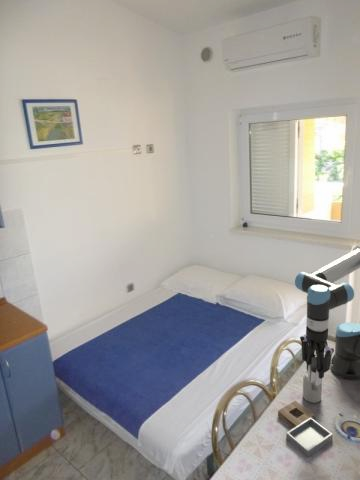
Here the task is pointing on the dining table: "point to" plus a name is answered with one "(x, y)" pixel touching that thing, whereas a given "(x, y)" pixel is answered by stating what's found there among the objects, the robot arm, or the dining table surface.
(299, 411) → the plate
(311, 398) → the can
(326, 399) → the dining table surface
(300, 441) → the tray
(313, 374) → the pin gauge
